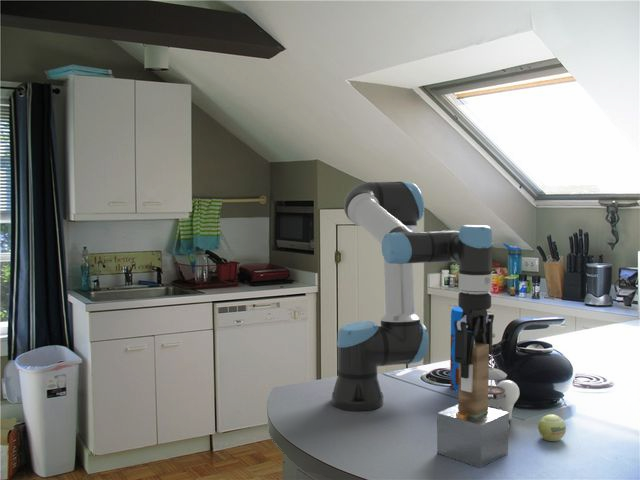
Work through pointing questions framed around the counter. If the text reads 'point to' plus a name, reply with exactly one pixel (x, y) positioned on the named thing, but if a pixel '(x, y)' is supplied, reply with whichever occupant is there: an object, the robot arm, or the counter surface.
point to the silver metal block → (472, 435)
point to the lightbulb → (509, 394)
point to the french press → (496, 388)
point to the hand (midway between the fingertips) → (473, 388)
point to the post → (476, 383)
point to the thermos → (454, 366)
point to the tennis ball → (552, 427)
